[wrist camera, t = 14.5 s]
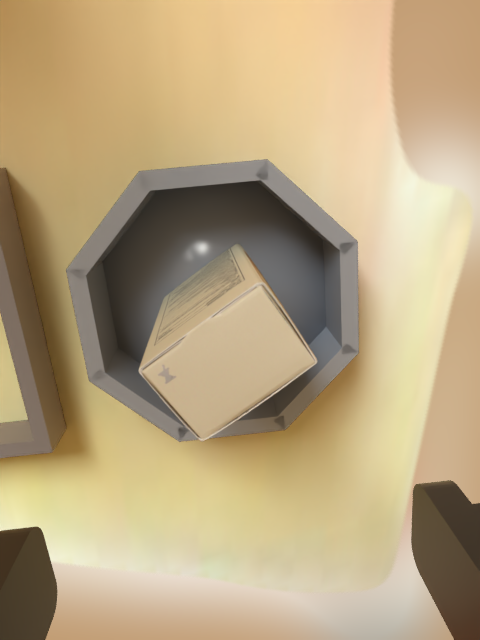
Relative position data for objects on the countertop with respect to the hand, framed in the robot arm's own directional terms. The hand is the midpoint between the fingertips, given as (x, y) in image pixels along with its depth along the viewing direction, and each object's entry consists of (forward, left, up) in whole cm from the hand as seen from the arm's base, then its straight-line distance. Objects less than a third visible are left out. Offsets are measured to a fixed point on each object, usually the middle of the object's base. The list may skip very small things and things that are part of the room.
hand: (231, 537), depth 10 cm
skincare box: (0, 0, -21) cm, 21 cm away
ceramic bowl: (0, 0, -22) cm, 22 cm away
